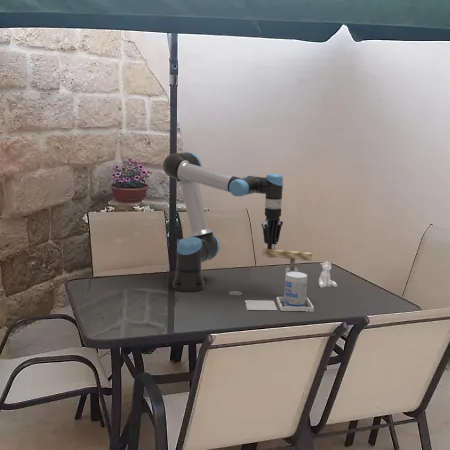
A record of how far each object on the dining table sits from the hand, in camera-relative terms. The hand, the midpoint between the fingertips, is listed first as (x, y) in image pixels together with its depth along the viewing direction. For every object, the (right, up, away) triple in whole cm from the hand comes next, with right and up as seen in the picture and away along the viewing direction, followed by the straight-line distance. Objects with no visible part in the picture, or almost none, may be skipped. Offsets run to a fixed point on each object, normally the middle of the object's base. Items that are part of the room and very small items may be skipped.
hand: (270, 257), depth 279 cm
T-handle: (+7, -4, -5) cm, 9 cm away
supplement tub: (+10, -21, -14) cm, 27 cm away
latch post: (+9, -19, -3) cm, 21 cm away
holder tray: (+10, -21, -14) cm, 27 cm away
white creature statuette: (+29, -15, +21) cm, 38 cm away
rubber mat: (-5, -20, -15) cm, 26 cm away
